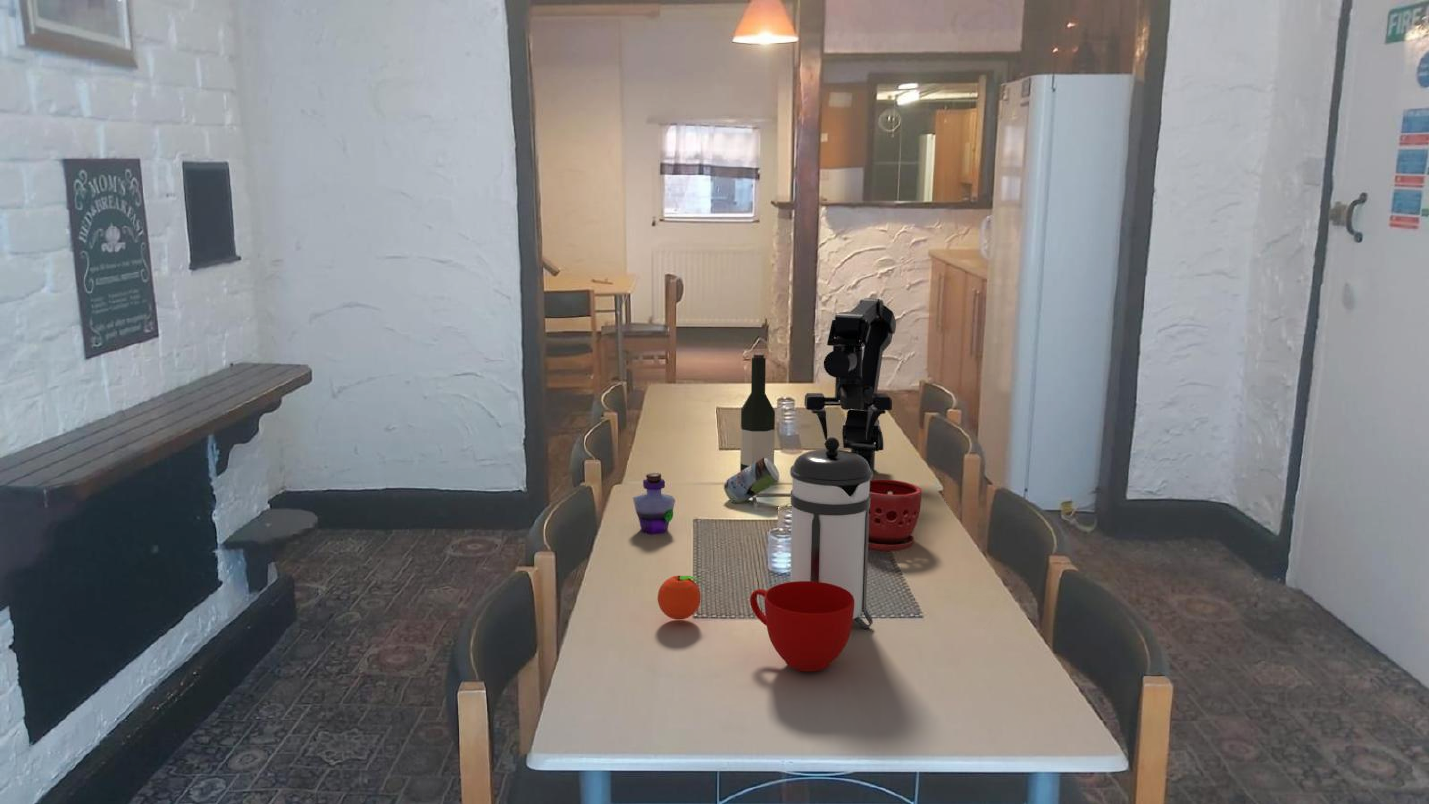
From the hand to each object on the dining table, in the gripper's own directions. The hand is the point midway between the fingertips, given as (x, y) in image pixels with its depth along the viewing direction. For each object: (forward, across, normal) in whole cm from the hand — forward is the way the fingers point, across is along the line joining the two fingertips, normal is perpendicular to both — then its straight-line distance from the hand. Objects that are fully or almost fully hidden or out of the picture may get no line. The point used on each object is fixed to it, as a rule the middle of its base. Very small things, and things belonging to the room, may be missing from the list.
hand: (846, 439), depth 240 cm
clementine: (+13, -36, -70) cm, 80 cm away
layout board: (+13, -5, -10) cm, 17 cm away
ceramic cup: (+13, -19, -85) cm, 88 cm away
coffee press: (+13, -14, -70) cm, 72 cm away
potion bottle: (+13, -42, -26) cm, 51 cm away
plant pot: (+13, +3, -34) cm, 37 cm away
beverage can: (+4, -16, -9) cm, 19 cm away
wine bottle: (+13, -19, +14) cm, 27 cm away
